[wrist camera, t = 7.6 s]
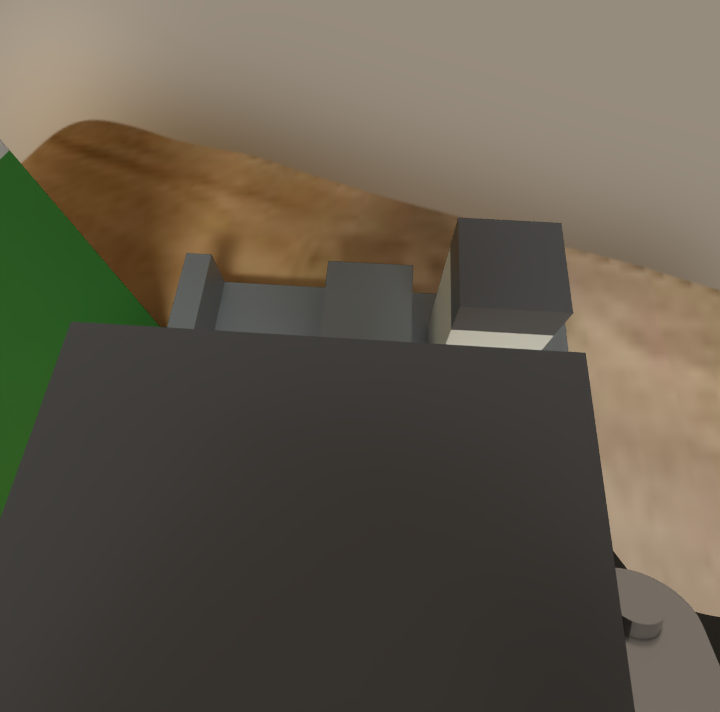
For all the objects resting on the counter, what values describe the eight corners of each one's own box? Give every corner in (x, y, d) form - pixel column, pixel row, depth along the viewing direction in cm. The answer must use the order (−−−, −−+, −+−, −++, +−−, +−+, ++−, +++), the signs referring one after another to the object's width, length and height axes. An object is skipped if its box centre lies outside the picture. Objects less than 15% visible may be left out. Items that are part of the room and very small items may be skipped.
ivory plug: (498, 329, 29) (561, 223, 20) (502, 396, 28) (573, 313, 18) (428, 325, 29) (458, 217, 20) (427, 391, 28) (460, 306, 18)
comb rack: (534, 309, 31) (558, 273, 27) (547, 442, 28) (577, 423, 24) (207, 290, 32) (186, 252, 28) (178, 418, 28) (149, 395, 24)
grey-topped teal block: (428, 500, 13) (585, 353, 4) (426, 690, 11) (705, 1223, 2) (271, 489, 13) (71, 321, 4) (245, 675, 11) (-215, 1117, 2)
